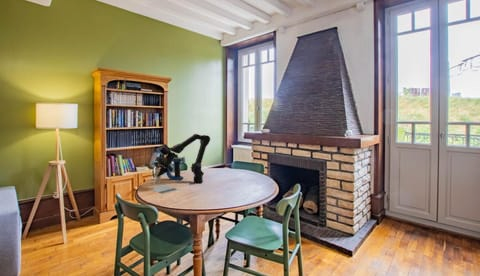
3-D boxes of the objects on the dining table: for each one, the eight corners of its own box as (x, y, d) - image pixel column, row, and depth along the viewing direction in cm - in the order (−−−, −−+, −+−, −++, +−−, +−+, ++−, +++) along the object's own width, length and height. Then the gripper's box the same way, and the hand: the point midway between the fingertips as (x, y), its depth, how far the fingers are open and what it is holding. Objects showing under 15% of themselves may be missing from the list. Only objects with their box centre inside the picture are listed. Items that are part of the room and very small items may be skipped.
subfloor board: (147, 190, 191) (147, 188, 191) (164, 186, 202) (164, 184, 202) (163, 196, 178) (163, 193, 178) (180, 191, 189) (180, 189, 189)
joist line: (173, 188, 191) (173, 188, 191) (177, 189, 189) (177, 189, 189) (158, 192, 182) (158, 192, 182) (162, 193, 179) (162, 193, 179)
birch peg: (161, 182, 195) (161, 167, 194) (159, 183, 191) (159, 168, 190) (156, 181, 195) (156, 167, 194) (154, 183, 191) (154, 168, 190)
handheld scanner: (183, 180, 219) (183, 157, 218) (166, 179, 223) (165, 156, 221) (186, 179, 224) (185, 156, 222) (168, 178, 227) (168, 156, 226)
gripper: (155, 151, 200) (142, 167, 193) (169, 153, 188) (155, 171, 181) (164, 160, 207) (152, 176, 199) (178, 163, 194) (165, 180, 187)
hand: (156, 176), depth 191 cm, fingers closed on birch peg, 4 cm apart
